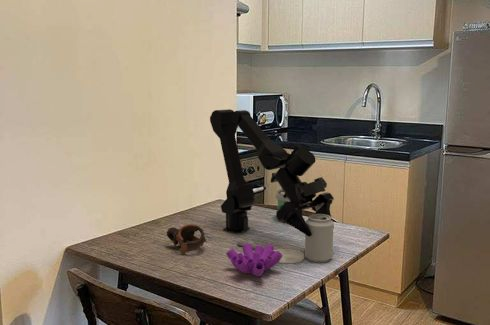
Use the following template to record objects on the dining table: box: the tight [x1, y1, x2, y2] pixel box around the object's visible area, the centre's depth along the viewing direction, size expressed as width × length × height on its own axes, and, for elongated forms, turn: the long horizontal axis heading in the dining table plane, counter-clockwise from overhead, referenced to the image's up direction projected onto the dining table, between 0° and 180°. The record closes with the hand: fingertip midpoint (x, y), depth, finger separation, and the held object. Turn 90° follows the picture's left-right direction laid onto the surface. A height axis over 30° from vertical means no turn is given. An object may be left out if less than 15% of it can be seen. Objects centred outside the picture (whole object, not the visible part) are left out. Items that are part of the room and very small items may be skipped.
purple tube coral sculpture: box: [225, 243, 283, 277], centre depth 126 cm, size 11×15×10 cm
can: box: [304, 213, 335, 263], centre depth 134 cm, size 8×8×12 cm
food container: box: [275, 188, 290, 223], centre depth 171 cm, size 12×6×10 cm, turn 172°
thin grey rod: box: [236, 241, 265, 251], centre depth 142 cm, size 11×1×1 cm, turn 56°
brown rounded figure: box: [166, 223, 207, 255], centre depth 142 cm, size 12×10×8 cm
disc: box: [274, 248, 305, 265], centre depth 136 cm, size 10×10×1 cm
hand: (321, 232), depth 133 cm, fingers open, 9 cm apart
